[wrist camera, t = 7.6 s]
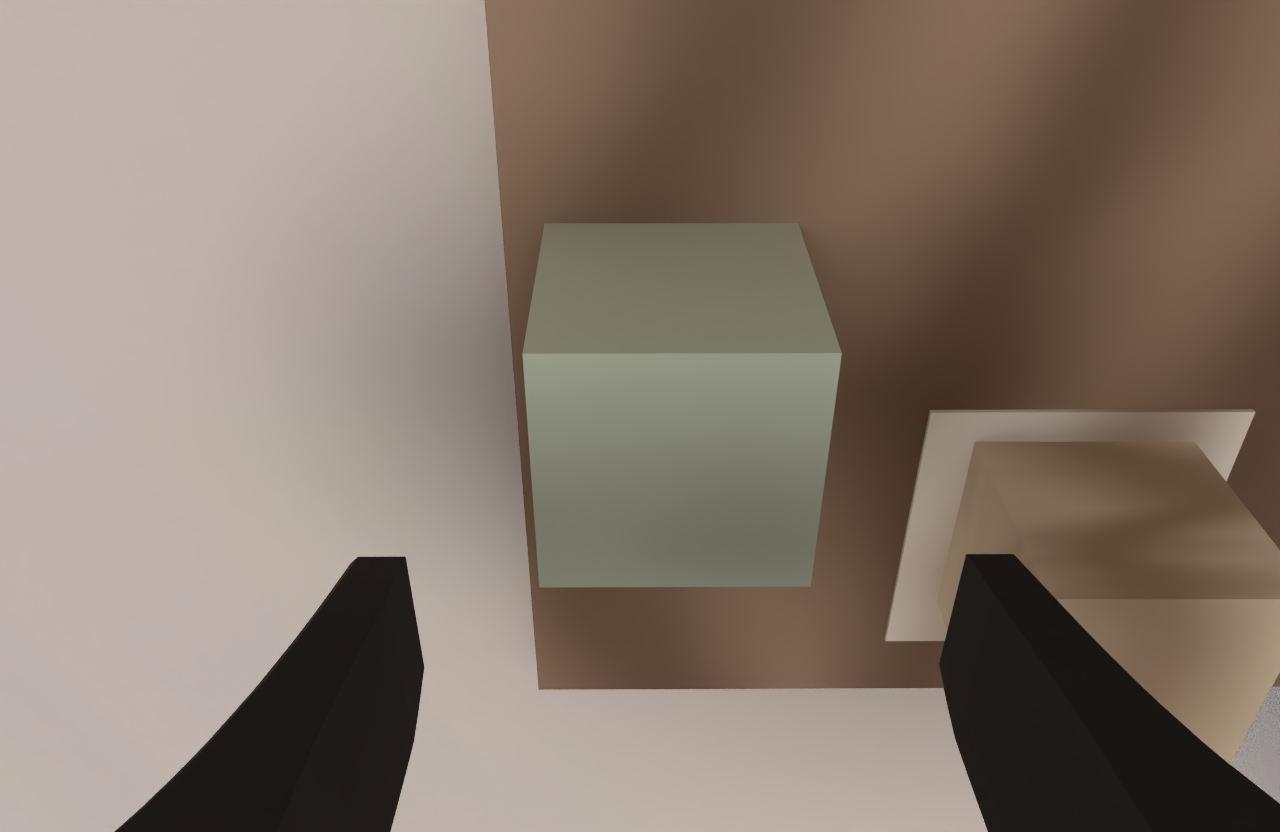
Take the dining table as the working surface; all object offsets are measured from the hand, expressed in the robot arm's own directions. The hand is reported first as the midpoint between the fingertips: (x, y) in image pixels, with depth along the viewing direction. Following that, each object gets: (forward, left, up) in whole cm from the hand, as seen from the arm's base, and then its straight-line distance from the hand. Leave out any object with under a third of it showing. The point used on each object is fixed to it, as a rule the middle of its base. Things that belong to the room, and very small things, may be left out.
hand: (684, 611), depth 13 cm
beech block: (-9, +5, -7) cm, 12 cm away
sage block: (0, 0, -7) cm, 7 cm away
